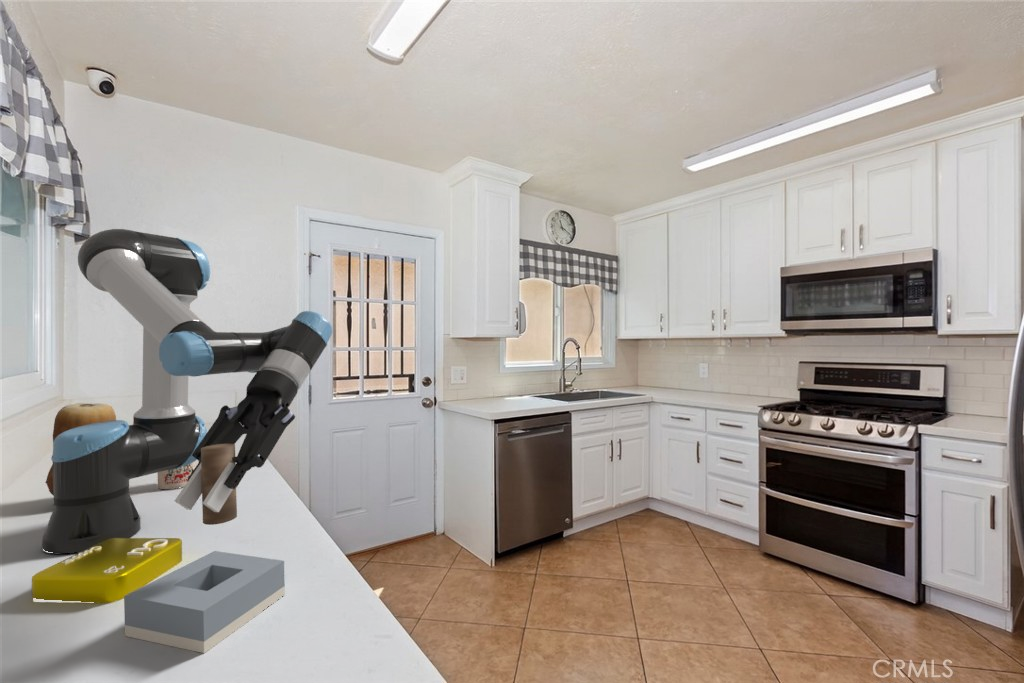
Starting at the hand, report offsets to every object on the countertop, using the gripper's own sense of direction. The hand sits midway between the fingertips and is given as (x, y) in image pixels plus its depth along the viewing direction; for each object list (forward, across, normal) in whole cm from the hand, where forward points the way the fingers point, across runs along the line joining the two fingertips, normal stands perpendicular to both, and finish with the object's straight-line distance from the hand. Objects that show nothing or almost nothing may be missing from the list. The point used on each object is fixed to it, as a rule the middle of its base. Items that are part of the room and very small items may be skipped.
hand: (196, 506), depth 67 cm
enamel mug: (-24, +64, -48) cm, 83 cm away
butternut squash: (-13, +76, -36) cm, 85 cm away
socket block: (+11, 0, -13) cm, 17 cm away
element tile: (+8, +26, -17) cm, 32 cm away
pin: (0, 0, -5) cm, 5 cm away
